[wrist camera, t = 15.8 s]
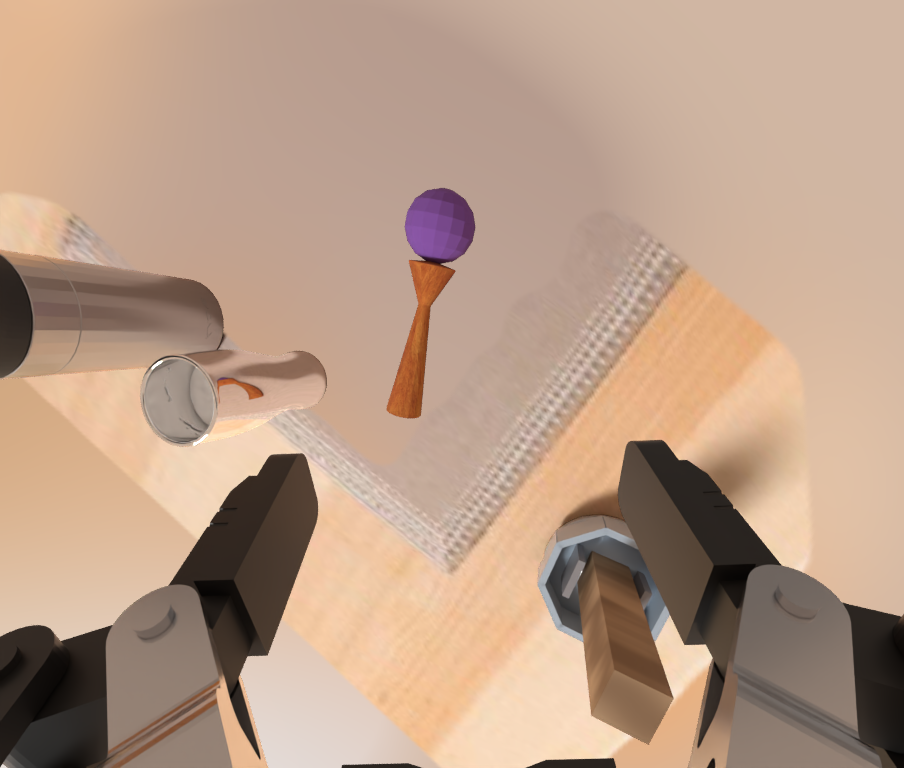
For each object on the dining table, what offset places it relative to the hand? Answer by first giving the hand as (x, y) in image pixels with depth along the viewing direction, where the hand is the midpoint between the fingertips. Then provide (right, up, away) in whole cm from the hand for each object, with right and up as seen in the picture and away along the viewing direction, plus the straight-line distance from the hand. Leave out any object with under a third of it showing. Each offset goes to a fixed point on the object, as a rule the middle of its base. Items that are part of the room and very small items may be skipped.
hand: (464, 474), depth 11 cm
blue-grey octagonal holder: (+13, -15, +28) cm, 35 cm away
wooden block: (+13, -15, +27) cm, 34 cm away
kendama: (-2, +9, +30) cm, 31 cm away
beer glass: (-16, +3, +33) cm, 37 cm away
